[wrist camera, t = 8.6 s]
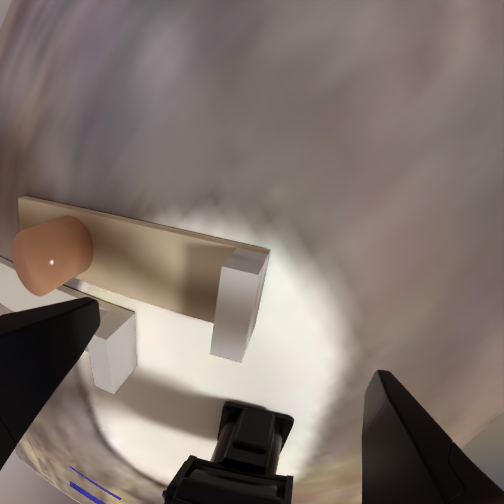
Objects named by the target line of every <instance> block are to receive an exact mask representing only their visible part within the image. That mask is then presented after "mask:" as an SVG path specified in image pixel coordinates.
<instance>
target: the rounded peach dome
mask: <svg viewBox="0 0 504 504" xmlns="http://www.w3.org/2000/svg"><path fill="white" fill-rule="evenodd" d="M93 252H94V251H93V243H92V239H91V236H90V234H89V232H88V230H87V228H86V227H85V225H84V224H83V223H82V222H81V221H80V220H79V219H78V218H76V217H74V216H70V215H66V216H63V217H60V218H57V219H54V220H51V221H48V222H45V223H42V224H39V225H36V226H33V227H31V228H28V229H25V230H22V231H20V232H18V233H17V234H16V235H15V237H14V239H13V243H12V259H13V264H14V268H15V270H16V273H17V275H18V277H19V279H20V281H21V283H22V284H23V285H24V287H25V288H26V289H27V290H28V291H29V292H30V293H32V294H34V295H36V296H44V295H46V294H48V293H49V292H51V291H53V290H54V289H56V288H58V287H59V286H61V285H63V284H64V283H66V282H68V281H69V280H71V279H73V278H75V277H76V276H78V275H80V274H81V273H83V272H85V271H86V270H88V268H89V267H90V265H91V263H92V260H93Z"/></svg>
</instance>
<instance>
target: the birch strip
mask: <svg viewBox="0 0 504 504" xmlns="http://www.w3.org/2000/svg"><path fill="white" fill-rule="evenodd" d="M18 211H19V232H20V231H22V230H25V229H28V228H31V227H33V226H36V225H39V224H42V223H45V222H48V221H51V220H54V219H57V218H60V217H63V216H66V215H70V216H74V217H76V218H78V219H79V220H80V221H81V222H82V223H83V224H84V225H85V227H86V228H87V230H88V232H89V234H90V236H91V239H92V243H93V251H94V252H93V260H92V263H91V265H90V267H89V268H88V270H86V271H85V272H83V273H81V274H80V275H78V276H76V277H75V278H77V279H79V280H82V281H85V282H87V283H90V284H93V285H96V286H98V287H101V288H104V289H107V290H110V291H112V292H115V293H118V294H121V295H124V296H127V297H130V298H133V299H136V300H139V301H142V302H145V303H148V304H151V305H154V306H158V307H161V308H164V309H167V310H170V311H174V312H177V313H180V314H184V315H187V316H190V317H194V318H197V319H201V320H204V321H208V322H211V323H214V327H213V335H212V342H211V350H210V354H211V355H215V356H218V357H222V358H226V359H229V360H233V361H237V362H240V363H241V362H242V359H243V356H244V354H245V351H246V348H247V346H248V343H249V341H250V338H251V335H252V333H253V330H254V327H255V323H256V319H257V314H258V309H259V304H260V299H261V295H262V290H263V285H264V280H265V275H266V270H267V265H268V260H269V255H270V250H269V249H265V248H260V247H256V246H251V245H247V244H243V243H238V242H234V241H229V240H225V239H220V238H216V237H211V236H207V235H202V234H198V233H193V232H189V231H184V230H180V229H176V228H171V227H166V226H162V225H157V224H153V223H148V222H144V221H139V220H135V219H130V218H126V217H121V216H117V215H112V214H107V213H103V212H98V211H94V210H89V209H84V208H80V207H75V206H71V205H66V204H61V203H57V202H52V201H47V200H43V199H38V198H33V197H29V196H23V197H19V198H18Z"/></svg>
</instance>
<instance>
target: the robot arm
mask: <svg viewBox="0 0 504 504" xmlns="http://www.w3.org/2000/svg"><path fill="white" fill-rule="evenodd" d="M100 322H101V319H100V310H99V303H98V301H97V300H96V299H93V298H91V297H82V298H78V299H73V300H69V301H64V302H60V303H55V304H50V305H46V306H41V307H37V308H32V309H27V310H23V311H18V312H13V313H9V314H4V315H1V316H0V470H1V469H2V467H3V465H4V464H5V462H6V461H7V459H8V458H9V456H10V455H11V453H12V452H13V450H14V449H15V447H16V446H17V444H18V442H19V441H20V439H21V438H22V436H23V435H24V433H25V432H26V431H27V429H28V428H29V426H30V425H31V423H32V422H33V420H34V419H35V418H36V416H37V415H38V413H39V412H40V411H41V409H42V408H43V406H44V405H45V404H46V402H47V401H48V400H49V398H50V397H51V395H52V394H53V393H54V391H55V390H56V389H57V387H58V386H59V385H60V383H61V382H62V381H63V379H64V378H65V377H66V375H67V374H68V373H69V371H70V370H71V369H72V368H73V366H74V365H75V364H76V362H77V361H78V360H79V358H80V357H81V355H82V354H83V352H84V350H85V349H86V347H87V345H88V344H89V342H90V341H91V339H92V338H93V336H94V334H95V333H96V331H97V330H98V328H99V326H100ZM288 421H289V422H288ZM293 424H294V419H293V418H292V417H290V416H285V415H280V414H276V413H271V412H267V411H263V410H258V409H254V408H250V407H246V406H243V405H239V404H235V403H231V402H226V403H225V404H224V406H223V410H222V416H221V422H220V427H219V433H218V439H217V441H218V443H217V445H216V448H215V450H214V453H213V456H212V458H211V461H207V460H203V459H199V458H197V457H196V456H192V455H190V456H189V458H188V459H187V461H185V462H184V463H183V465H182V466H181V468H180V469H179V471H178V472H177V474H176V475H175V477H174V478H173V480H172V481H171V483H170V484H169V486H168V487H167V488H166V489H165V490H164V491H163V494H162V496H163V498H164V500H165V503H164V504H291V498H292V487H293V476H290V475H287V476H282V475H276V470H277V465H278V460H279V455H280V453H281V451H282V448H283V446H284V444H285V442H286V440H287V437H288V435H289V433H290V431H291V429H292V426H293ZM452 442H453V440H452V439H451V438H450V437H449V436H448V435H447V434H446V433H445V431H444V430H443V429H442V428H441V427H440V426H439V425H438V424H437V423H436V421H435V420H434V419H433V418H432V417H431V416H430V415H429V414H428V413H427V411H426V410H425V409H424V408H423V407H422V406H421V405H420V404H419V403H418V402H417V400H416V399H415V398H414V397H413V396H412V395H411V394H410V393H409V392H408V391H407V390H406V388H405V387H404V386H403V385H402V384H401V383H400V382H399V381H398V380H397V379H396V378H395V377H394V375H393V374H392V373H391V372H390V371H385V370H377V371H376V372H375V373H374V375H373V377H372V379H371V381H370V383H369V385H368V387H367V389H366V392H365V400H364V415H363V428H362V504H504V491H503V490H502V489H501V488H500V487H499V486H497V485H496V484H495V483H494V482H493V481H492V480H491V479H490V478H489V477H488V476H487V475H486V474H484V473H483V472H482V471H481V470H480V469H479V468H478V467H477V466H476V465H475V464H474V463H473V462H472V461H471V460H470V459H469V458H468V457H467V456H466V455H465V454H464V453H463V452H462V450H461V449H460V448H459V447H458V446H457V445H456V444H455V443H454V442H453V443H452Z"/></svg>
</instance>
